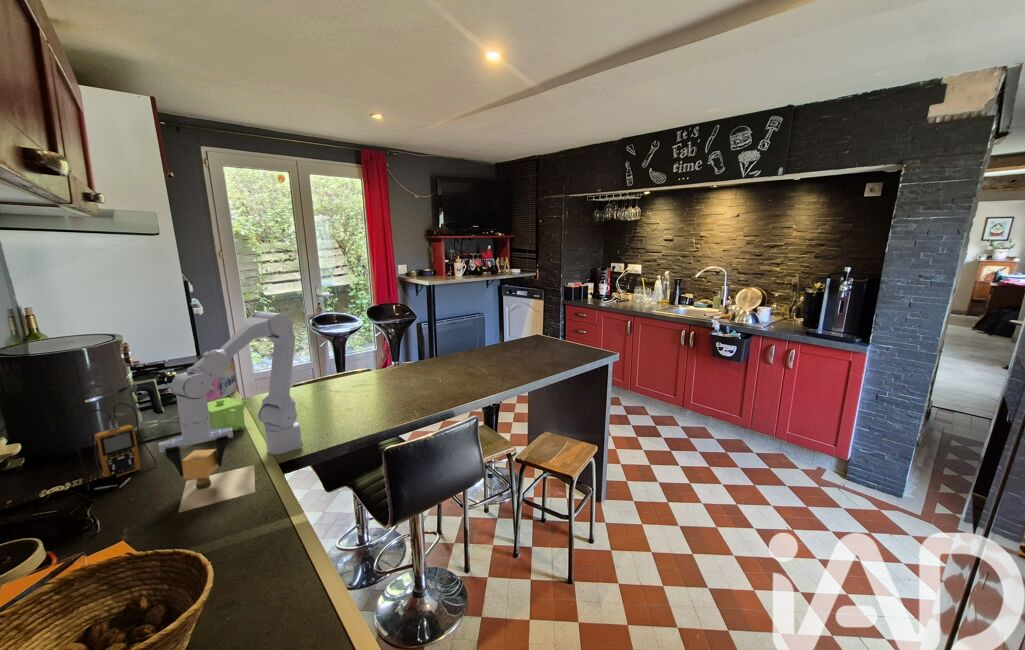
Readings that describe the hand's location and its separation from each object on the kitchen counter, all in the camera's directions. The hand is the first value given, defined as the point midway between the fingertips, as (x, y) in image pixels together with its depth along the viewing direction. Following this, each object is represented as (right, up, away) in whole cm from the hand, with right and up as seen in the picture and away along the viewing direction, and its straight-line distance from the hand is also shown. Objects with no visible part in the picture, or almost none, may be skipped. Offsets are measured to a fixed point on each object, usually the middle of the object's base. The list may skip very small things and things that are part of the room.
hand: (201, 469), depth 100 cm
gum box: (-44, +6, +61) cm, 76 cm away
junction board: (+4, -6, +1) cm, 8 cm away
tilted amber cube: (0, -1, 0) cm, 1 cm away
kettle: (-20, 0, +34) cm, 40 cm away
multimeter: (-25, -5, +6) cm, 26 cm away
